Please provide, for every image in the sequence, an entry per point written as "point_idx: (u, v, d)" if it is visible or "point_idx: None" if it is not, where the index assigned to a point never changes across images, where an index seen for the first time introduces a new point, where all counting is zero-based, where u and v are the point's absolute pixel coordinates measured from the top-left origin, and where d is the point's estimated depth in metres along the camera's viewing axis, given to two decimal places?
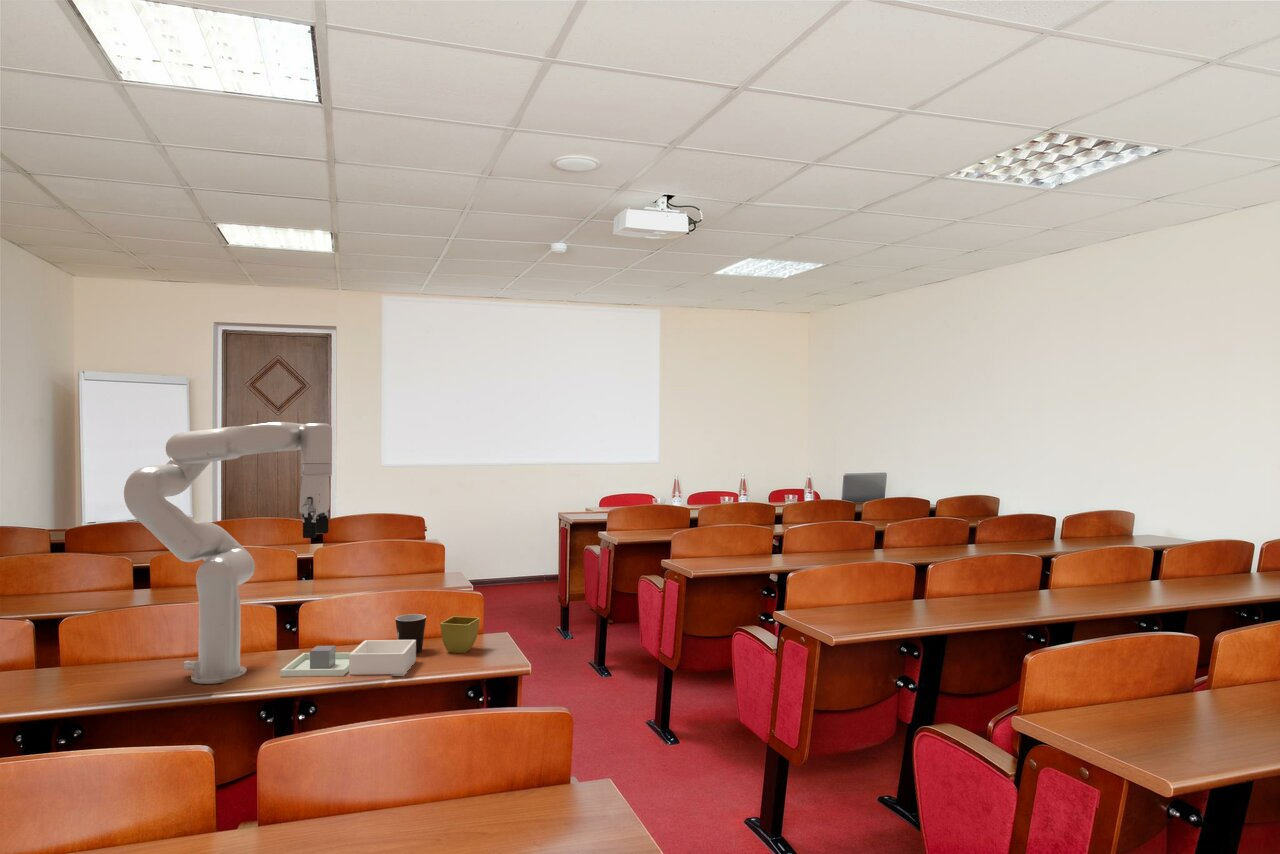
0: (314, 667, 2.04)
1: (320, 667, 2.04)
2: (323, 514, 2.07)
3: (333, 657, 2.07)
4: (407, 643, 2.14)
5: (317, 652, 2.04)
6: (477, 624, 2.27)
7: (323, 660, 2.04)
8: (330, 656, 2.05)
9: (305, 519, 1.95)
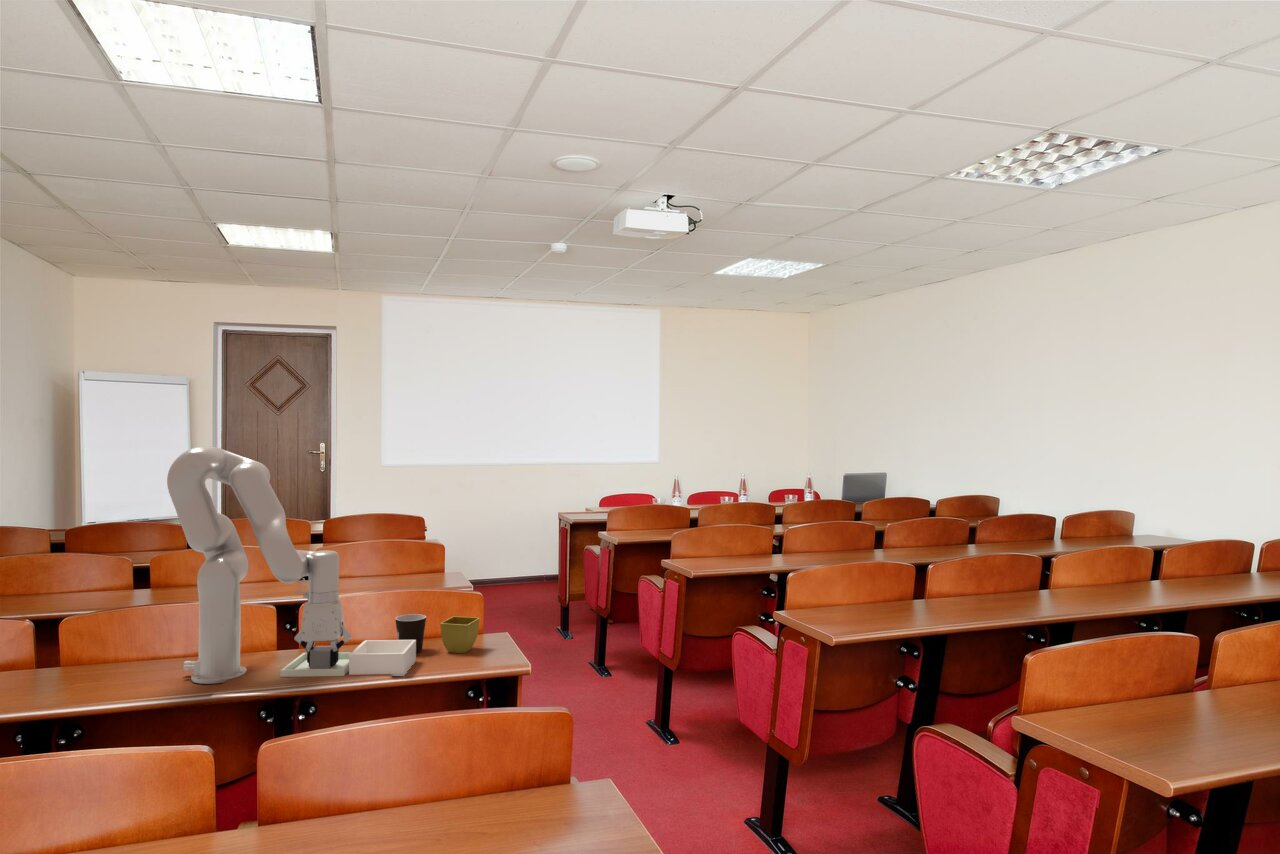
0: (314, 667, 2.04)
1: (320, 667, 2.04)
2: None
3: None
4: (407, 643, 2.14)
5: (317, 652, 2.04)
6: (477, 624, 2.27)
7: (323, 660, 2.04)
8: (330, 656, 2.05)
9: None
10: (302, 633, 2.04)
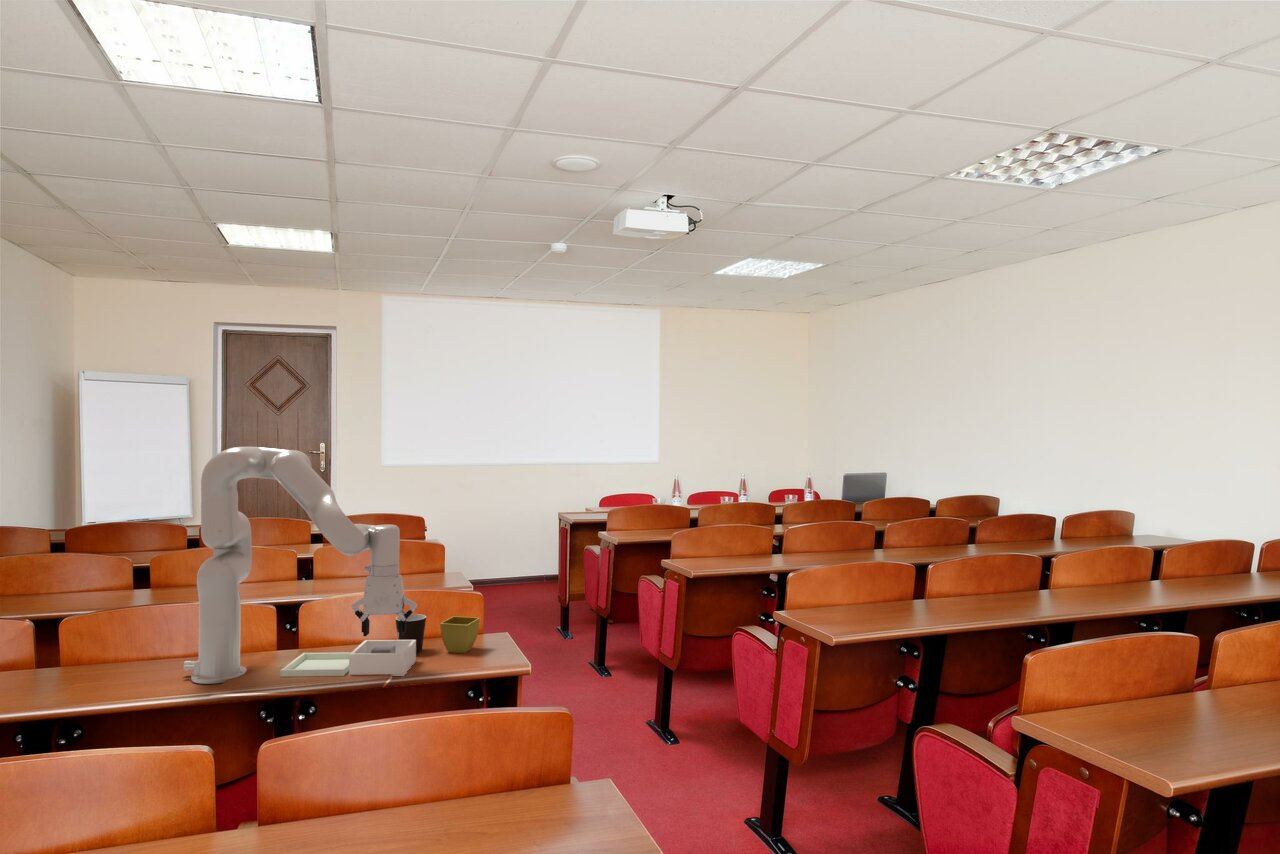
0: None
1: None
2: None
3: None
4: (407, 643, 2.14)
5: (378, 651, 2.05)
6: (477, 624, 2.27)
7: None
8: None
9: (408, 616, 2.08)
10: (364, 606, 2.05)
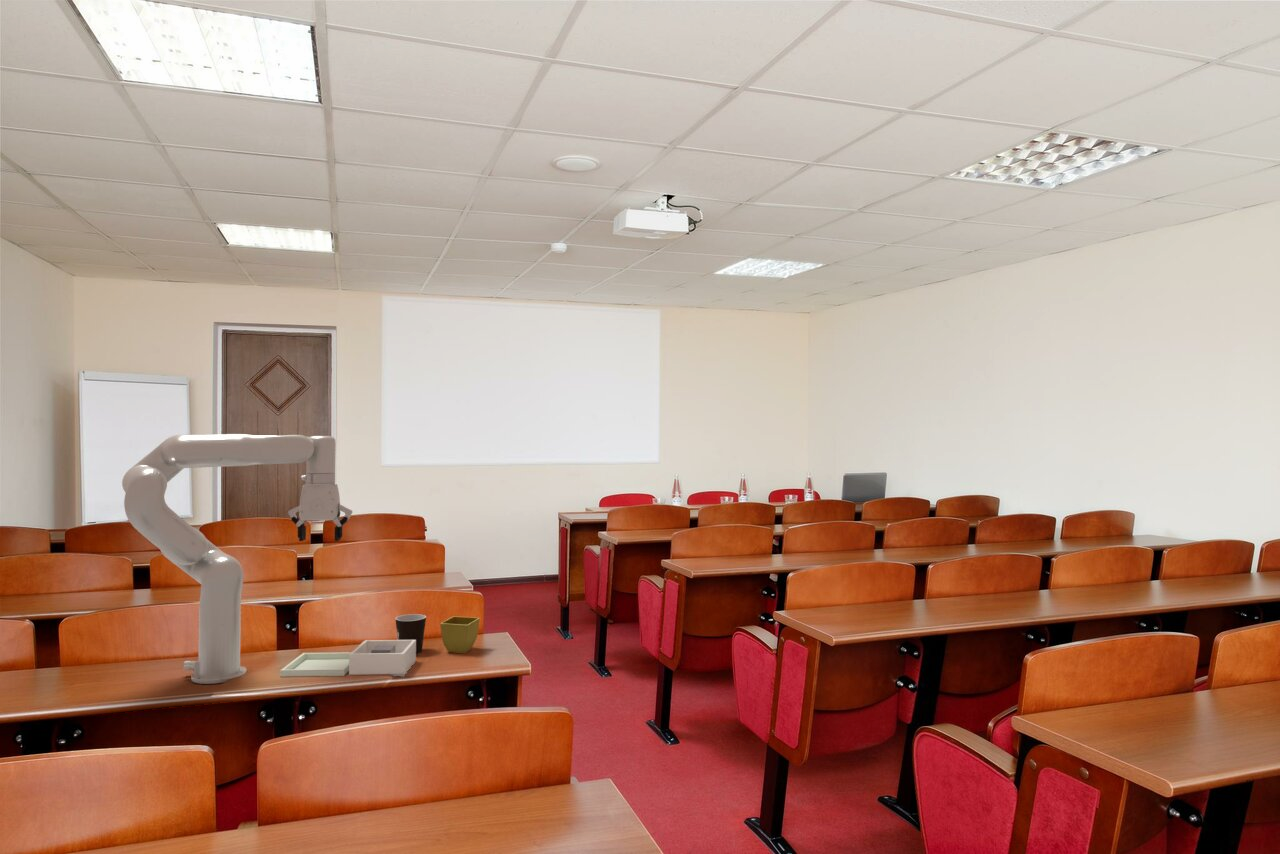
0: None
1: None
2: None
3: None
4: (407, 643, 2.14)
5: (378, 651, 2.05)
6: (477, 624, 2.27)
7: None
8: None
9: (344, 523, 2.17)
10: (300, 512, 2.14)
